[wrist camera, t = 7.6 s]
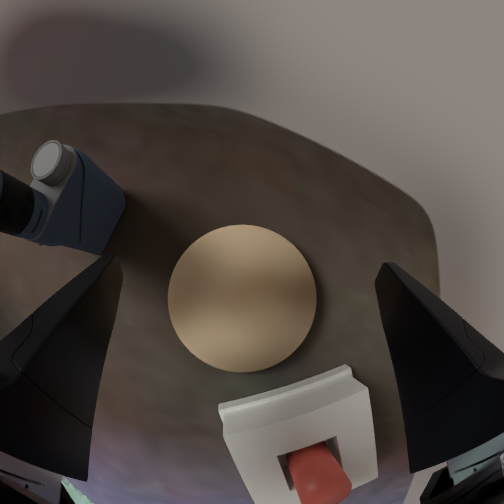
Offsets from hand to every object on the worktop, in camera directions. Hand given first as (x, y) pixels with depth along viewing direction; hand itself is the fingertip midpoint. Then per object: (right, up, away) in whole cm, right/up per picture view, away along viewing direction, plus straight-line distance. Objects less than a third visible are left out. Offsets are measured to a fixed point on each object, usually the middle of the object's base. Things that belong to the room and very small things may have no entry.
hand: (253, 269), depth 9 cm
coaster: (-1, -2, +8) cm, 9 cm away
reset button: (+3, -12, +5) cm, 14 cm away
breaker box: (+3, -13, +7) cm, 15 cm away
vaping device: (-10, +3, +8) cm, 14 cm away
